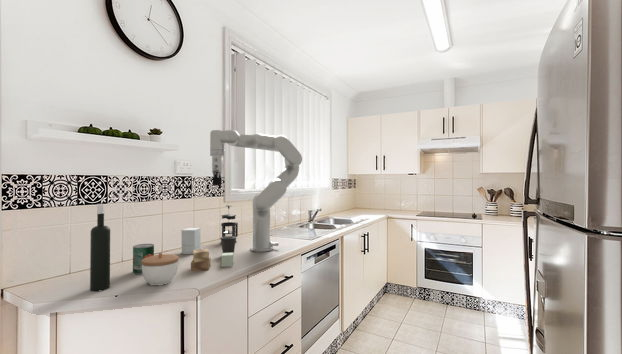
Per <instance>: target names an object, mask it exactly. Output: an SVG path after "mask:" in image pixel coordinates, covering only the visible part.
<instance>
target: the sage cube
mask: <svg viewBox="0 0 622 354" xmlns="http://www.w3.org/2000/svg"><path fill="white" fill-rule="evenodd" d="M234 256H235V252H234V253H223V252H222V254H221V258H220V259H221V262H220V263H221V268H222V267H223V268H224V267H234V264H235V263H234V262H235V261H234V260H235V257H234Z"/></svg>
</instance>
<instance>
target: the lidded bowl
mask: <svg viewBox="0 0 622 354" xmlns="http://www.w3.org/2000/svg"><path fill="white" fill-rule="evenodd" d="M179 260H180V259H179V255H177V254H172V253H171V254H168V253H167V254H165V253H164V254H163V252H159V253H158V254H156V255H155V254H154V256H150V257H146V258H144V259H142V260H141V264H142V274H141V275H142V276H143V279H144V280H145V281H146V282H147V283H148V284H149V285H150V286H152V285H159V286H164V285H163V284H165V285H167V283H168V284H169V282H170V283H171V281H172V280H173V279H174V278H175V276H176V275H177V272H178V267H179Z"/></svg>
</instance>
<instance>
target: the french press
mask: <svg viewBox="0 0 622 354" xmlns="http://www.w3.org/2000/svg"><path fill="white" fill-rule="evenodd" d="M226 207H227V209H228V212H227V214H222V215H221V219H222V220H224V219H227V221H226V222H221V224H220V226H221V237H223V236H226V235H231V236H234V237H236V238H237V237H238V236H239V235H238V234H239V233H238V232H239V231H238V229H239V226H238V225H239V224H238V222H232V220H235V219H236V216H237V214H230V207H232V205H230V204H229V205H226ZM230 220H231V222H230ZM226 227H227V228H228V230H227V231H226ZM230 227H231V230H230ZM220 244H221V245H222V243H221V242H220ZM235 244H237V240H236V241H235Z"/></svg>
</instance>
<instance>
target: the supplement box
mask: <svg viewBox="0 0 622 354" xmlns="http://www.w3.org/2000/svg"><path fill="white" fill-rule="evenodd" d="M180 231H181V255H193V250H198V249H202V248H201V240H202V239H201V227H187V228H184V229H181V230H180Z"/></svg>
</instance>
